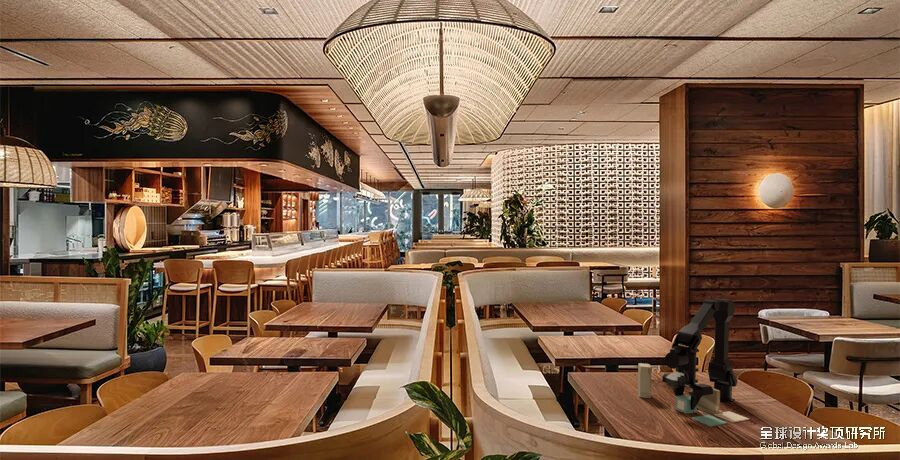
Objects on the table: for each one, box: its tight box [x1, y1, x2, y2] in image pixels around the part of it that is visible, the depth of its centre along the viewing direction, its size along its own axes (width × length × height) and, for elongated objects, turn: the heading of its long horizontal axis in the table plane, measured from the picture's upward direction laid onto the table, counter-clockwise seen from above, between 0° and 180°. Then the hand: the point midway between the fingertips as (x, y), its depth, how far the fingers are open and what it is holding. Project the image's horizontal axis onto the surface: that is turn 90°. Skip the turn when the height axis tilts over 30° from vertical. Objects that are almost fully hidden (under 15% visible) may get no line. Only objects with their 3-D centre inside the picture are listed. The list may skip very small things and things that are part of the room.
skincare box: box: [637, 362, 652, 399], centre depth 220 cm, size 6×4×12 cm
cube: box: [675, 394, 697, 414], centre depth 203 cm, size 5×5×5 cm
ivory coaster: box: [713, 410, 750, 423], centre depth 197 cm, size 8×8×1 cm
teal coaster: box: [691, 414, 728, 427], centre depth 193 cm, size 8×8×1 cm
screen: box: [689, 382, 724, 416], centre depth 205 cm, size 4×13×8 cm, turn 24°
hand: (686, 407), depth 203 cm, fingers open, 6 cm apart
